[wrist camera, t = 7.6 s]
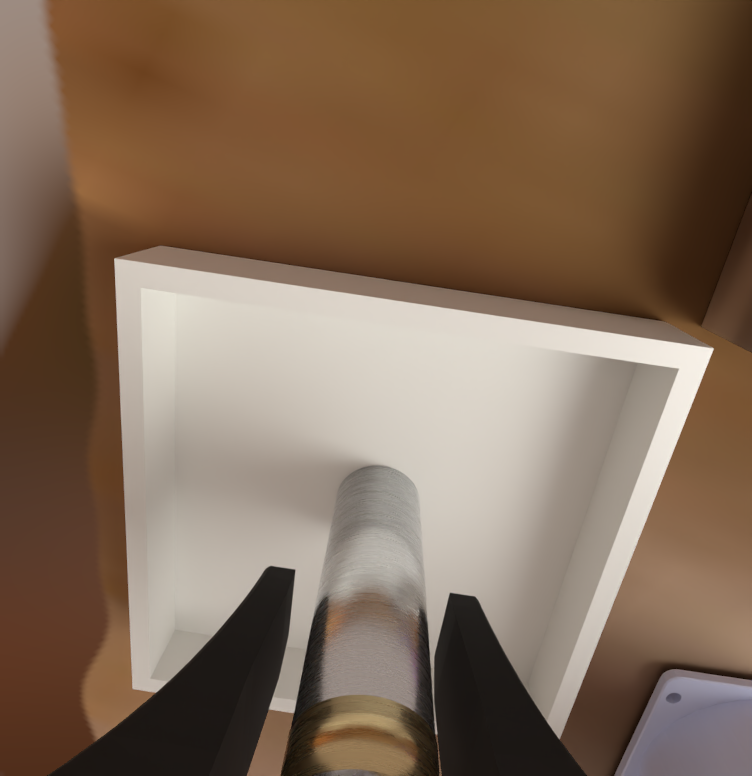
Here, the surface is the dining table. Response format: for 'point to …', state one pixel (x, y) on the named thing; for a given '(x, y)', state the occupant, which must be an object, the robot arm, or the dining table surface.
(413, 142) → the dining table surface
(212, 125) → the dining table surface
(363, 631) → the steel pin
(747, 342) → the square hole board
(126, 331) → the tray
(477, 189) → the dining table surface
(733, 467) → the dining table surface
